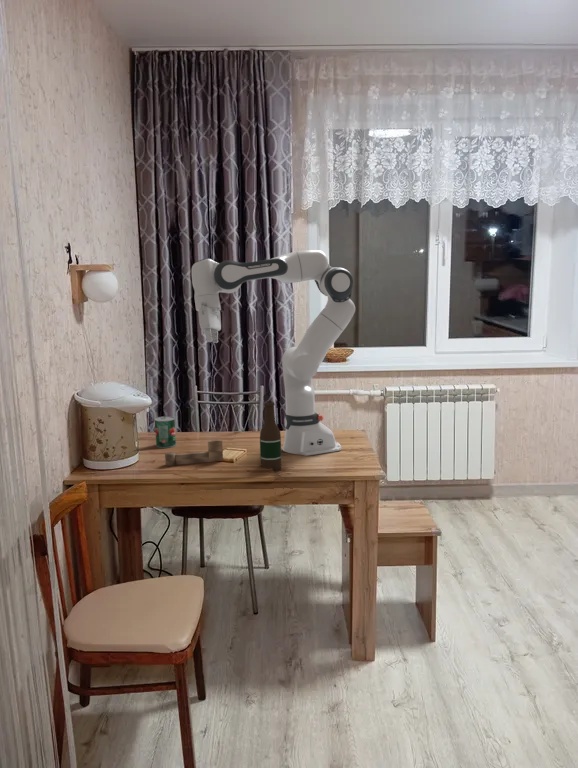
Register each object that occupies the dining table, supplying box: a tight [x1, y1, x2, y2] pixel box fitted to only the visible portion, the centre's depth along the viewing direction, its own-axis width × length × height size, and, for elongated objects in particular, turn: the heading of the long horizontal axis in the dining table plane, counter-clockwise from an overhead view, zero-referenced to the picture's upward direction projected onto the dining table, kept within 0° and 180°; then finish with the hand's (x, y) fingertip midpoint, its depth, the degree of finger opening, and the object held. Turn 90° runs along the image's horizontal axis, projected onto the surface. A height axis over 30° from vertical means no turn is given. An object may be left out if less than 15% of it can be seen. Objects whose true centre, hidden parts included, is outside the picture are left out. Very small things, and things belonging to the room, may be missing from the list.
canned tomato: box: [154, 415, 177, 449], centre depth 271 cm, size 8×8×11 cm
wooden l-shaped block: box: [164, 439, 224, 467], centre depth 245 cm, size 20×9×8 cm, turn 103°
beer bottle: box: [259, 400, 282, 473], centre depth 236 cm, size 8×8×24 cm
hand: (212, 342), depth 247 cm, fingers open, 8 cm apart
